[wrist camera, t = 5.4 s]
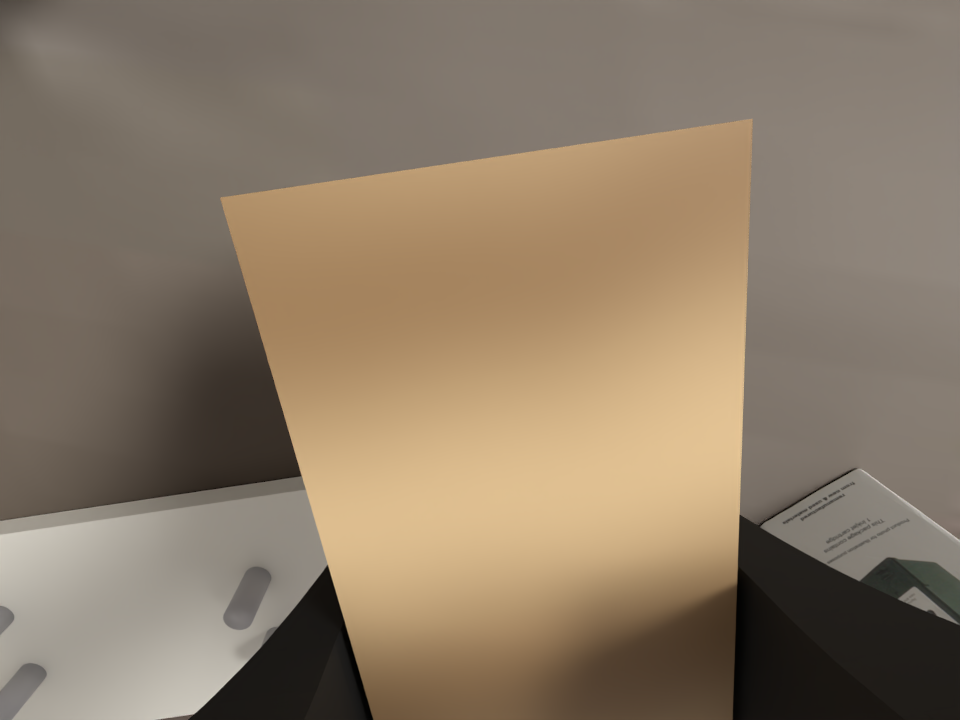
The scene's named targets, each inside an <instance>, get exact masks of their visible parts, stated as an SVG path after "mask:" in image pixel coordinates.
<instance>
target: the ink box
mask: <svg viewBox="0 0 960 720" xmlns="http://www.w3.org/2000/svg"><path fill="white" fill-rule="evenodd" d="M760 527H761V528H762V529H764V530H766V531H767V532H769V533H771V534H772V535H774V536H776V537H777V538H779V539H781V540H783V541H784V542H786V543H788V544H790V545H791V546H793V547H795V548H797V549H799V550H800V551H802V552H804V553H806V554H808V555H810V556H811V557H813V558H815V559H817V560H819V561H821V562H822V563H824V564H826V565H828V566H830V567H832V568H834V569H836V570H838V571H840V572H842V573H844V574H846V575H848V576H850V577H852V578H854V579H856V580H858V581H860V582H862V583H864V584H867V585H869V586H871V587H873V588H875V589H877V590H879V591H882V592H884V593H886V594H888V595H890V596H892V597H894V598H896V599H899V600H901V601H903V602H905V603H908V604H910V605H912V606H915V607H917V608H919V609H922V610H924V611H926V612H929V613H931V614H934V615H936V616H939V617H941V618H944V619H946V620H949V621H951V622H954V623H956V624H959V625H960V540H959V539H957V538H956V537H954V536H953V535H952V534H950V533H949V532H948V531H946V530H945V529H943V528H942V527H941V526H939V525H938V524H937V523H935V522H934V521H932V520H931V519H930V518H928V517H927V516H926V515H924V514H923V513H922V512H920V511H919V510H917V509H916V508H915V507H913V506H912V505H911V504H909V503H908V502H906V501H905V500H903V499H902V498H901V497H899V496H898V495H896V494H895V493H894V492H892V491H891V490H889V489H888V488H887V487H885V486H884V485H883V484H881V483H880V482H878V481H877V480H876V479H874V478H873V477H872V476H870V475H869V474H868V473H866V472H865V471H863V470H862V469H856V470H854V471H852V472H850V473H848V474H847V475H845V476H843V477H841V478H840V479H838V480H836V481H834V482H832V483H831V484H829V485H827V486H825V487H823V488H822V489H820V490H818V491H817V492H815V493H813V494H812V495H810V496H808V497H807V498H805V499H804V500H802V501H800V502H799V503H797V504H795V505H794V506H792V507H791V508H789V509H787V510H785V511H784V512H782V513H780V514H778V515H777V516H775V517H774V518H772V519H770V520H768V521H766V522H765V523H763V524H762V525H761V526H760Z"/></svg>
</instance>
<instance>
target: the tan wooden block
mask: <svg viewBox="0 0 960 720" xmlns="http://www.w3.org/2000/svg"><path fill="white" fill-rule="evenodd" d="M752 125H753V119H749V120H742V121H735V122H729V123H722V124H715V125H708V126H702V127H695V128H688V129H681V130H675V131H668V132H661V133H654V134H648V135H641V136H634V137H627V138H620V139H614V140H607V141H600V142H593V143H587V144H580V145H573V146H566V147H560V148H553V149H546V150H539V151H533V152H526V153H519V154H512V155H506V156H499V157H492V158H485V159H479V160H472V161H465V162H458V163H452V164H445V165H438V166H431V167H425V168H418V169H411V170H404V171H398V172H391V173H384V174H377V175H371V176H364V177H357V178H350V179H344V180H337V181H330V182H323V183H316V184H310V185H303V186H296V187H289V188H283V189H276V190H269V191H262V192H256V193H249V194H242V195H235V196H229V197H222V198H220V199H221V202H222V206H223V209H224V212H225V216H226V219H227V223H228V226H229V229H230V233H231V236H232V240H233V243H234V246H235V250H236V253H237V257H238V260H239V263H240V267H241V270H242V274H243V277H244V280H245V284H246V287H247V291H248V294H249V297H250V301H251V304H252V308H253V311H254V315H255V318H256V321H257V325H258V328H259V332H260V335H261V338H262V342H263V345H264V349H265V352H266V355H267V359H268V362H269V366H270V369H271V372H272V376H273V379H274V383H275V386H276V389H277V393H278V396H279V400H280V403H281V406H282V410H283V413H284V417H285V420H286V424H287V427H288V430H289V434H290V437H291V441H292V444H293V447H294V451H295V454H296V458H297V461H298V464H299V468H300V471H301V475H302V478H303V481H304V485H305V488H306V492H307V495H308V498H309V502H310V505H311V509H312V512H313V515H314V519H315V522H316V526H317V529H318V532H319V536H320V539H321V543H322V546H323V550H324V553H325V556H326V560H327V563H328V567H329V570H330V573H331V577H332V580H333V584H334V587H335V590H336V594H337V597H338V601H339V604H340V607H341V611H342V614H343V618H344V621H345V624H346V628H347V631H348V635H349V638H350V641H351V645H352V648H353V652H354V655H355V659H356V662H357V665H358V669H359V672H360V676H361V679H362V682H363V686H364V689H365V693H366V696H367V699H368V703H369V706H370V710H371V713H372V716H373V720H733V691H734V661H735V631H736V601H737V572H738V542H739V512H740V482H741V452H742V423H743V393H744V363H745V333H746V303H747V274H748V244H749V214H750V184H751V155H752Z"/></svg>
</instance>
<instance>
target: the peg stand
mask: <svg viewBox="0 0 960 720" xmlns="http://www.w3.org/2000/svg"><path fill="white" fill-rule="evenodd" d="M327 565H328V563H327V560H326V556H325V553H324V550H323V546H322V543H321V539H320V536H319V532H318V529H317V526H316V522H315V519H314V515H313V512H312V509H311V505H310V502H309V498H308V495H307V492H306V488H305V485H304V481H303V478H302V476H301V477H294V478H287V479H280V480H274V481H267V482H260V483H253V484H247V485H240V486H233V487H226V488H220V489H213V490H206V491H199V492H193V493H186V494H179V495H172V496H166V497H159V498H152V499H145V500H138V501H132V502H125V503H118V504H111V505H105V506H98V507H91V508H84V509H78V510H71V511H64V512H57V513H51V514H44V515H37V516H30V517H24V518H17V519H10V520H3V521H0V720H157V719H164V718H171V717H177V716H184V715H191V714H195V713H196V712H197V711H198V710H199V709H201V708H202V707H203V706H204V705H205V704H206V703H207V702H208V701H209V700H210V699H211V698H212V697H213V696H214V695H215V694H216V693H217V692H218V691H219V690H220V689H221V688H222V687H223V686H224V685H225V684H226V683H227V682H228V681H229V680H230V679H231V678H232V677H233V676H234V675H235V674H236V673H237V672H238V671H239V670H240V669H241V668H242V667H243V666H244V665H245V664H246V663H247V662H248V661H249V660H250V659H251V657H252V656H253V655H254V654H255V653H256V652H257V651H258V650H259V649H260V648H261V647H262V645H263V644H264V643H265V642H266V641H267V640H268V639H269V637H270V636H271V635H272V634H273V633H274V631H275V630H276V629H277V628H278V627H279V626H280V624H281V623H282V622H283V621H284V620H285V618H286V617H287V616H288V615H289V614H290V613H291V611H292V610H293V609H294V608H295V606H296V605H297V604H298V603H299V601H300V600H301V599H302V598H303V596H304V595H305V594H306V592H307V591H308V590H309V589H310V587H311V586H312V585H313V583H314V582H315V581H316V579H317V578H318V577H319V576H320V574H321V573H322V572H323V570H324V569H325V568H326V566H327Z"/></svg>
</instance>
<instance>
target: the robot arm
mask: <svg viewBox="0 0 960 720" xmlns="http://www.w3.org/2000/svg"><path fill="white" fill-rule="evenodd" d="M188 720H373V716H372V713H371V710H370V706H369V703H368V699H367V696H366V693H365V689H364V686H363V682H362V679H361V676H360V672H359V669H358V665H357V662H356V659H355V655H354V652H353V648H352V645H351V641H350V638H349V635H348V631H347V628H346V624H345V621H344V618H343V614H342V611H341V607H340V604H339V601H338V597H337V594H336V590H335V587H334V584H333V580H332V577H331V573H330V570H329V567H328V565H327V566H326V568H325V569H324V570H323V572H322V573H321V574H320V576H319V577H318V578H317V579H316V581H315V582H314V583H313V585H312V586H311V587H310V589H309V590H308V591H307V592H306V594H305V595H304V596H303V598H302V599H301V600H300V601H299V603H298V604H297V605H296V606H295V608H294V609H293V610H292V611H291V613H290V614H289V615H288V616H287V617H286V618H285V620H284V621H283V622H282V623H281V624H280V626H279V627H278V628H277V629H276V630H275V631H274V633H273V634H272V635H271V636H270V637H269V639H268V640H267V641H266V642H265V643H264V644H263V645H262V647H261V648H260V649H259V650H258V651H257V652H256V653H255V654H254V655H253V656H252V657H251V659H250V660H249V661H248V662H247V663H246V664H245V665H244V666H243V667H242V668H241V669H240V670H239V671H238V672H237V673H236V674H235V675H234V676H233V677H232V678H231V679H230V680H229V681H228V682H227V683H226V684H225V685H224V686H223V687H222V688H221V689H220V690H219V691H218V692H217V693H216V694H215V695H214V696H213V697H212V698H211V699H210V700H209V701H208V702H207V703H206V704H205V705H204V706H203V707H202V708H201V709H199V710H198V711H197V712H196V713H195V714H194V715H193V716H192V717H191V718H190V719H188ZM733 720H960V625H959V624H956V623H954V622H951V621H949V620H946V619H944V618H941V617H939V616H936V615H934V614H931V613H929V612H926V611H924V610H922V609H919V608H917V607H915V606H912V605H910V604H908V603H905V602H903V601H901V600H899V599H896V598H894V597H892V596H890V595H888V594H886V593H884V592H882V591H879V590H877V589H875V588H873V587H871V586H869V585H867V584H864V583H862V582H860V581H858V580H856V579H854V578H852V577H850V576H848V575H846V574H844V573H842V572H840V571H838V570H836V569H834V568H832V567H830V566H828V565H826V564H824V563H822V562H821V561H819V560H817V559H815V558H813V557H811V556H810V555H808V554H806V553H804V552H802V551H800V550H799V549H797V548H795V547H793V546H791V545H790V544H788V543H786V542H784V541H783V540H781V539H779V538H777V537H776V536H774V535H772V534H771V533H769V532H767V531H766V530H764V529H762V528H761V527H759V526H757V525H756V524H754V523H752V522H751V521H749V520H748V519H746V518H744V517H743V516H741V515H740V514H739V542H738V572H737V601H736V631H735V661H734V691H733Z"/></svg>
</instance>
